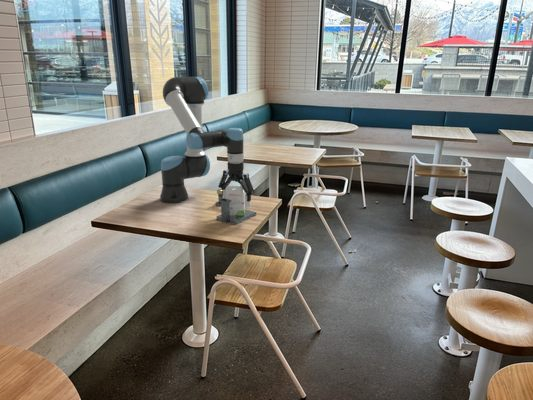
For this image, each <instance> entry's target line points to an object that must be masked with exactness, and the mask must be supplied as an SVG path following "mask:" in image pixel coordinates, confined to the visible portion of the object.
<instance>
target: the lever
mask: <svg viewBox="0 0 533 400" xmlns="http://www.w3.org/2000/svg"><path fill="white" fill-rule="evenodd" d="M216 194H217V196H218V195H222V189H221V188H218V189H217V190H216Z"/></svg>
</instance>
